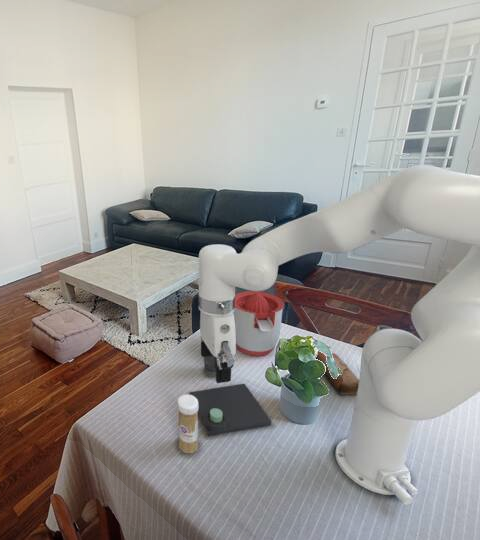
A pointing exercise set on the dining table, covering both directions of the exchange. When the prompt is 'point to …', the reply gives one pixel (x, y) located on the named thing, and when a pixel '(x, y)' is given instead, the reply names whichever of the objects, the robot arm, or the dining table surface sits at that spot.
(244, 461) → the dining table surface
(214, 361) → the beverage cup
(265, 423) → the scale
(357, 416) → the robot arm
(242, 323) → the citrus juicer
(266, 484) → the dining table surface
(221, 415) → the tare button
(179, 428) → the sprinkles bottle
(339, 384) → the brown leather shoe
